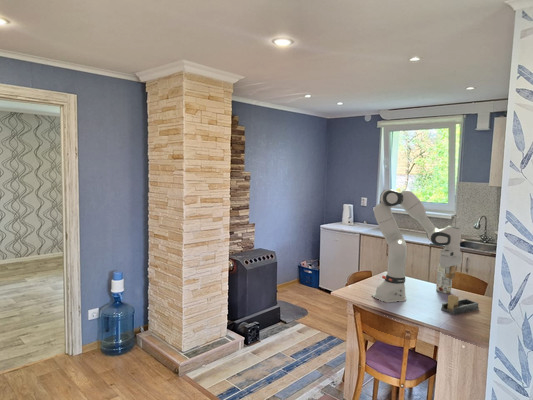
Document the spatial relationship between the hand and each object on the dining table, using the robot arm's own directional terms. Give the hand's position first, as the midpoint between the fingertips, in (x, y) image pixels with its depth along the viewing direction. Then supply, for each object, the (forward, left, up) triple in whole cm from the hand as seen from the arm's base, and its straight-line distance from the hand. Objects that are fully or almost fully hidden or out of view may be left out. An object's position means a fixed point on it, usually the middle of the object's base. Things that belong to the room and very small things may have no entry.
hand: (450, 272), depth 234 cm
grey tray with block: (-5, -12, -19) cm, 23 cm away
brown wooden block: (0, 0, -4) cm, 4 cm away
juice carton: (+14, +14, -20) cm, 28 cm away
